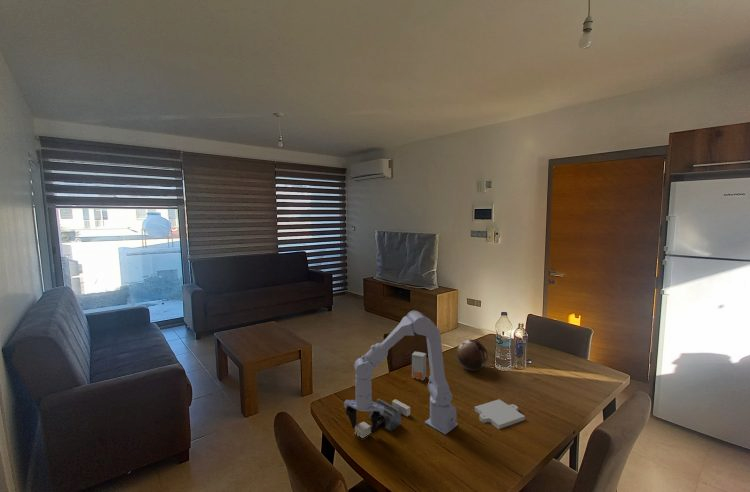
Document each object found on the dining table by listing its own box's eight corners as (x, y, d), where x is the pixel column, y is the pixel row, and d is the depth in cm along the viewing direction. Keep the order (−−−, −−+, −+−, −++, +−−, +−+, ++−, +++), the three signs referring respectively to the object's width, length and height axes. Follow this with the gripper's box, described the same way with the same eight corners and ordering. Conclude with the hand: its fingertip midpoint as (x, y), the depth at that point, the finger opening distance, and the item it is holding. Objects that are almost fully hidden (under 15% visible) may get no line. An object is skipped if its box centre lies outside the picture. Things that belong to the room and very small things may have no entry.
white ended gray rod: (410, 414, 130) (410, 407, 130) (363, 443, 113) (363, 435, 113) (395, 406, 136) (395, 399, 135) (349, 432, 119) (349, 425, 119)
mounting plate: (493, 432, 120) (493, 427, 120) (469, 412, 132) (469, 408, 131) (529, 419, 127) (529, 414, 127) (503, 402, 139) (503, 397, 139)
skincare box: (411, 378, 159) (411, 354, 158) (414, 374, 163) (414, 351, 162) (423, 381, 157) (423, 356, 155) (426, 377, 160) (426, 353, 159)
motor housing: (401, 424, 124) (400, 408, 123) (389, 431, 120) (389, 415, 119) (380, 412, 132) (380, 397, 131) (369, 418, 128) (369, 403, 127)
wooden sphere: (451, 365, 173) (451, 337, 172) (475, 360, 177) (476, 333, 176) (467, 378, 159) (467, 348, 157) (493, 373, 163) (494, 343, 162)
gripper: (386, 390, 119) (386, 425, 120) (349, 384, 124) (349, 418, 125) (380, 400, 112) (380, 438, 113) (341, 393, 117) (342, 430, 118)
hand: (364, 428), depth 119 cm, fingers open, 7 cm apart
